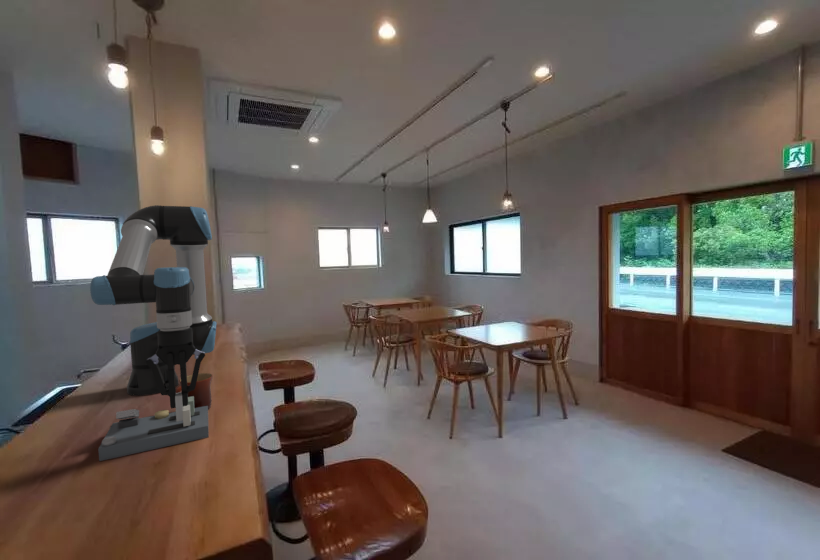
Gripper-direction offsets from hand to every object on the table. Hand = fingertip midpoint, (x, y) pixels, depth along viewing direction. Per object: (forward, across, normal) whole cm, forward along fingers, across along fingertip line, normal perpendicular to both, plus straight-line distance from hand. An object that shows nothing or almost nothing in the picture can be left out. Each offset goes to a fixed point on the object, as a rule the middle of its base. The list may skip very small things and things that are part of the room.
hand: (180, 418), depth 95 cm
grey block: (+1, +2, +6) cm, 7 cm away
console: (+5, -5, +4) cm, 8 cm away
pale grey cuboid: (+1, +2, 0) cm, 2 cm away
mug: (+5, +2, +16) cm, 17 cm away
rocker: (-1, -12, +8) cm, 14 cm away
